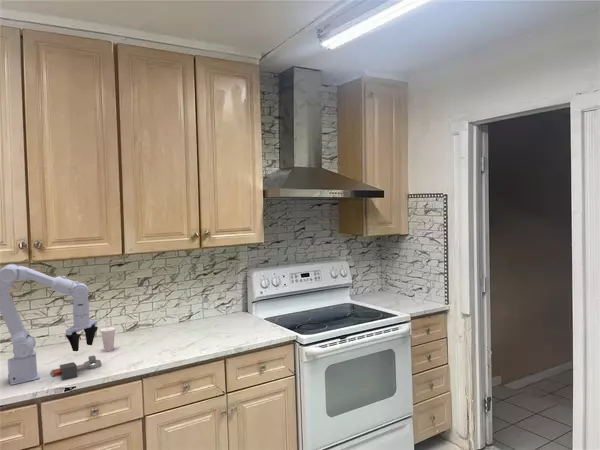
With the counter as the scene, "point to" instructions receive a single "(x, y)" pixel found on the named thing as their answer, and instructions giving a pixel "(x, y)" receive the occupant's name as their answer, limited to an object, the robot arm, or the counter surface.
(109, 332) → the smoothie
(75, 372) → the charcoal grey cube
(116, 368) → the counter surface
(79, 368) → the ratchet
